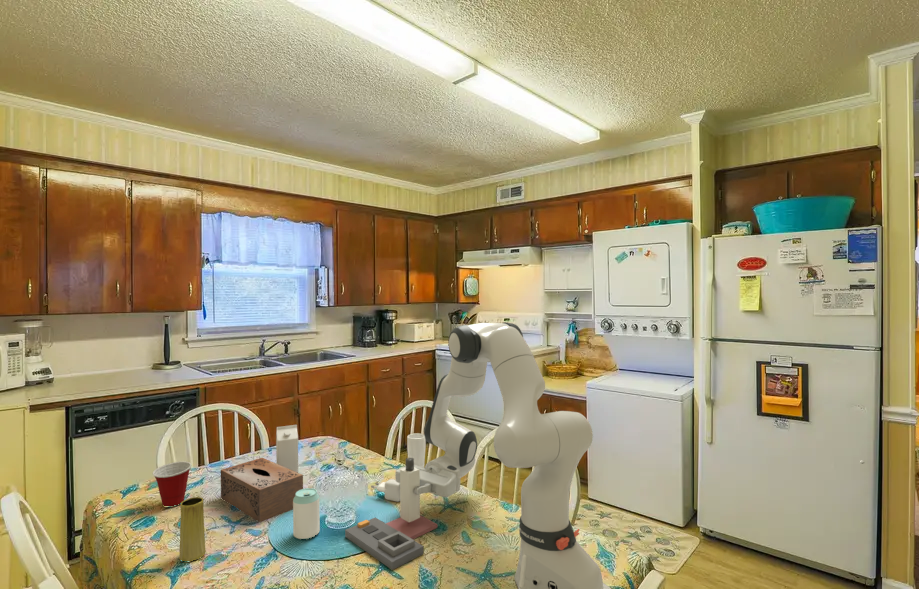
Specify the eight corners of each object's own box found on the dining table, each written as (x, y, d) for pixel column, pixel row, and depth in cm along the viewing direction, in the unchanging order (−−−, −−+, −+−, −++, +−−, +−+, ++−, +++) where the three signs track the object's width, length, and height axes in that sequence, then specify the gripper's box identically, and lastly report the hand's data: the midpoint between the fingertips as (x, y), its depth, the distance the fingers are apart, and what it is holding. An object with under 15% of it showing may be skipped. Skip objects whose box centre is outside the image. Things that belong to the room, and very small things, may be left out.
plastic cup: (144, 510, 147) (143, 472, 147) (172, 495, 157) (172, 460, 157) (172, 513, 144) (172, 475, 144) (199, 498, 155) (199, 462, 155)
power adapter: (369, 497, 154) (369, 480, 154) (377, 492, 159) (377, 474, 159) (398, 503, 150) (398, 485, 150) (406, 497, 154) (405, 479, 154)
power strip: (423, 553, 121) (423, 540, 121) (392, 570, 114) (392, 555, 114) (375, 524, 137) (375, 512, 136) (345, 536, 130) (345, 524, 130)
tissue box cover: (220, 499, 154) (220, 469, 154) (262, 485, 166) (262, 457, 166) (260, 523, 138) (259, 489, 138) (303, 505, 149) (302, 474, 149)
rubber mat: (437, 527, 134) (437, 524, 134) (407, 542, 126) (407, 538, 126) (413, 514, 142) (413, 511, 142) (383, 527, 134) (383, 524, 134)
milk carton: (276, 475, 174) (275, 424, 174) (296, 472, 177) (295, 422, 177) (277, 482, 168) (277, 429, 168) (298, 478, 171) (297, 427, 170)
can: (325, 532, 132) (324, 490, 132) (305, 543, 126) (304, 499, 126) (307, 525, 136) (307, 485, 136) (287, 537, 130) (287, 494, 130)
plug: (419, 517, 134) (419, 459, 134) (409, 522, 132) (408, 462, 131) (411, 512, 137) (410, 455, 137) (400, 517, 134) (399, 459, 134)
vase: (200, 547, 125) (199, 494, 125) (210, 555, 121) (209, 500, 121) (175, 557, 120) (174, 502, 120) (184, 565, 116) (183, 509, 116)
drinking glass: (422, 480, 168) (422, 439, 168) (405, 479, 169) (404, 438, 169) (428, 473, 174) (427, 433, 174) (410, 472, 176) (410, 432, 176)
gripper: (412, 456, 151) (382, 470, 140) (464, 470, 139) (435, 487, 128) (412, 476, 151) (382, 491, 140) (464, 491, 139) (435, 509, 128)
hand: (408, 489), depth 134 cm, fingers closed on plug, 4 cm apart
